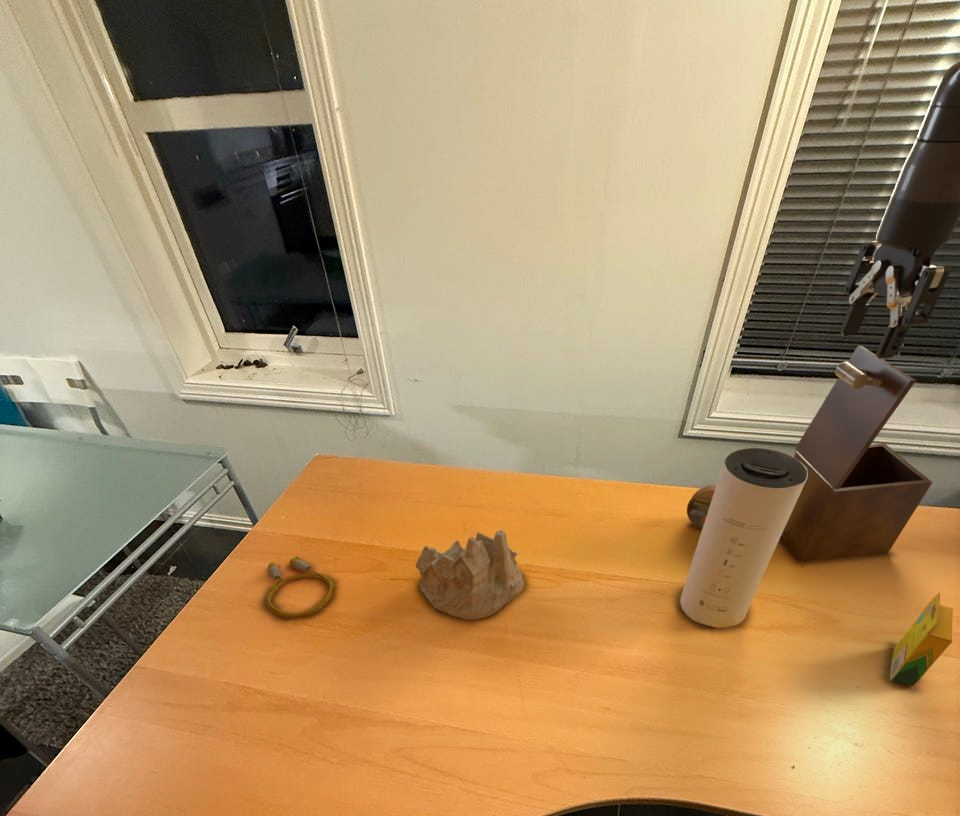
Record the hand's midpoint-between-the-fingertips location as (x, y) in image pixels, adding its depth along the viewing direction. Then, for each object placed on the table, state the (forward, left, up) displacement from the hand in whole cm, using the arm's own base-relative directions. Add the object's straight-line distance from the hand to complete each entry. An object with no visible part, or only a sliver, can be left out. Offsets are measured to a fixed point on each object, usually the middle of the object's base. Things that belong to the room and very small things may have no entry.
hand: (865, 345), depth 73 cm
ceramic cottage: (+56, +2, -35) cm, 66 cm away
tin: (+7, -7, -35) cm, 36 cm away
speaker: (+17, +13, -35) cm, 41 cm away
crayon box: (-5, +29, -35) cm, 46 cm away
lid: (-4, -2, -12) cm, 13 cm away
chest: (-10, -2, -35) cm, 36 cm away
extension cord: (+87, -2, -35) cm, 94 cm away
